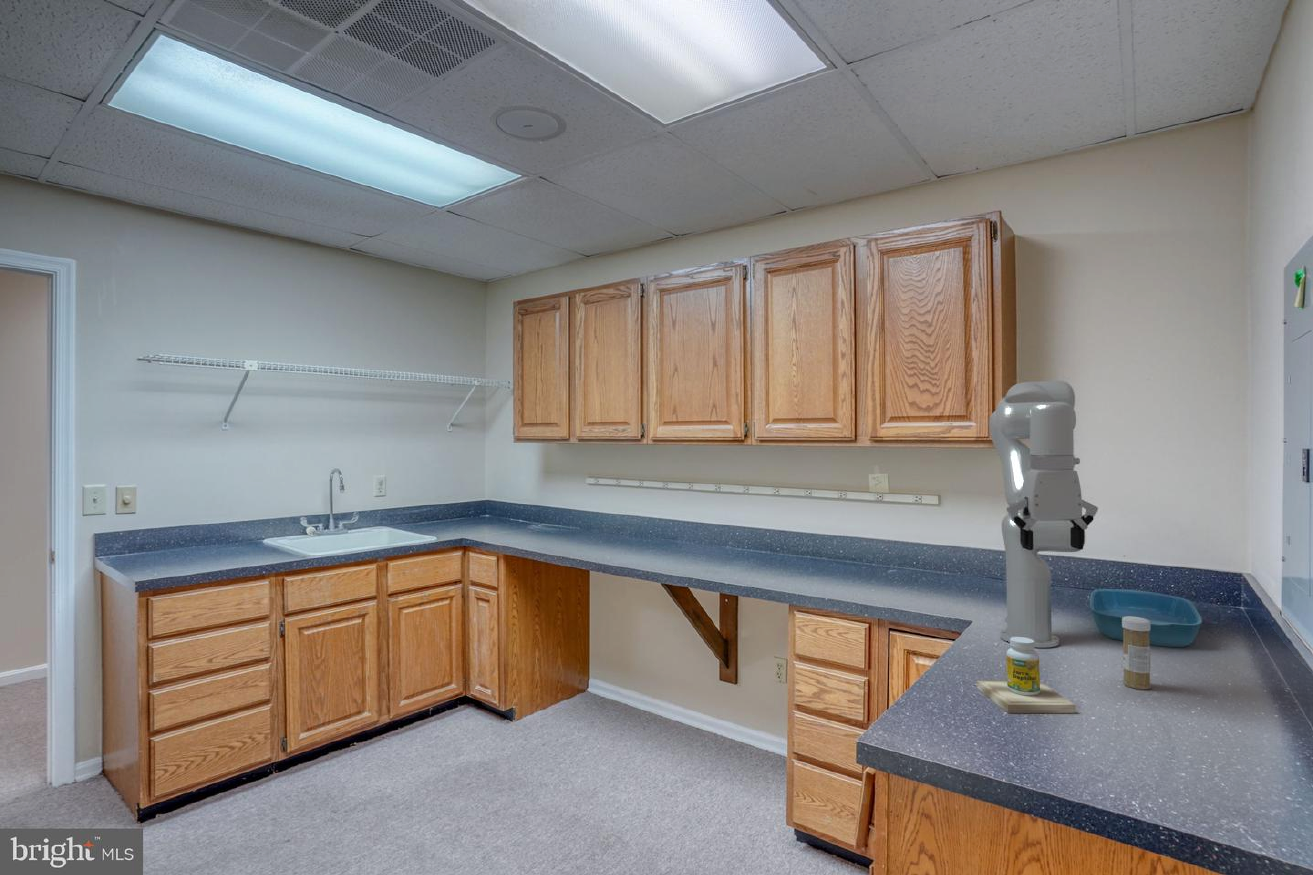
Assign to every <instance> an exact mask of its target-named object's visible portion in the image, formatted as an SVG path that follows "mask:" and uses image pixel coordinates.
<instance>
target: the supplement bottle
mask: <svg viewBox="0 0 1313 875" xmlns="http://www.w3.org/2000/svg"><path fill="white" fill-rule="evenodd" d="M1009 645H1010V648H1008V649H1007V651H1006V680H1007V687H1008V689H1009V690H1010V691H1012V692H1014V693H1016V694H1020V695H1026V696H1033V695H1037V694H1039V693H1040V682H1041V680H1040V678H1041V677H1040V676H1041V675H1040V656H1039V654H1038V652H1037V651H1035V648H1036V647H1035V643H1034V640H1032V639H1029V638H1025V637H1012V638H1010V642H1009Z"/></svg>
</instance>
